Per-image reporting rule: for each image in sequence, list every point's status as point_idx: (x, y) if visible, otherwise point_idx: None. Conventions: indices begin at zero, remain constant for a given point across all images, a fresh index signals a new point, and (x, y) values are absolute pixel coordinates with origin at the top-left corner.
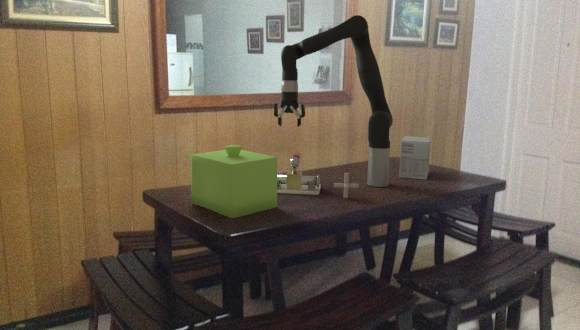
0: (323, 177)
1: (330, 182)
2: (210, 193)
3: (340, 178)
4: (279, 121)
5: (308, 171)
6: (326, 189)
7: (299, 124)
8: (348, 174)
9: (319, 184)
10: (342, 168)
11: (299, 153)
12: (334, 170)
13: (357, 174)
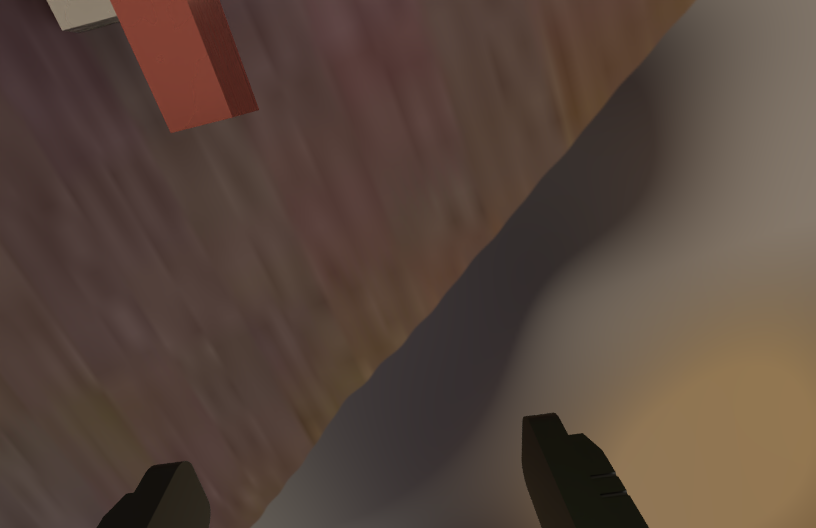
0: (210, 299)
1: (111, 205)
2: None
3: (118, 314)
4: (588, 486)
5: (342, 384)
6: (19, 4)
7: (127, 513)
8: None
9: (70, 28)
10: (222, 490)
11: (153, 74)
12: (236, 447)
13: (94, 420)
